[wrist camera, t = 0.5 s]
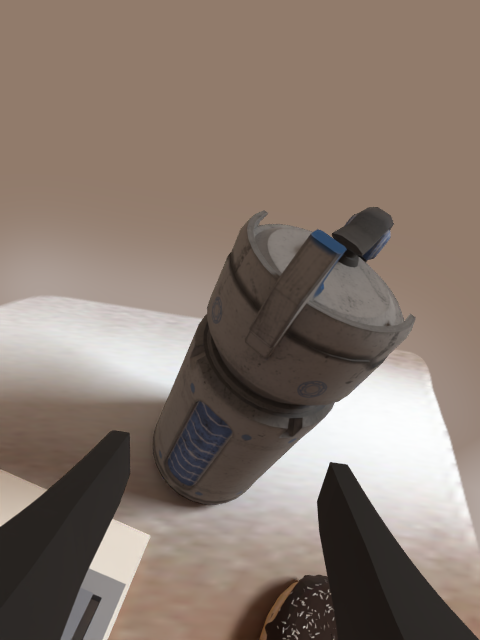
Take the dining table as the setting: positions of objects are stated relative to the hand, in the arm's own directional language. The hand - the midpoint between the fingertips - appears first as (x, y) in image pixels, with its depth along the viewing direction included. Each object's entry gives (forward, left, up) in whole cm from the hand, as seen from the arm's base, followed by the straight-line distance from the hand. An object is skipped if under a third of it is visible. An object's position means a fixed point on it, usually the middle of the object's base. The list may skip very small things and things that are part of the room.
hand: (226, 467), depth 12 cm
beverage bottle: (+11, -2, -18) cm, 21 cm away
